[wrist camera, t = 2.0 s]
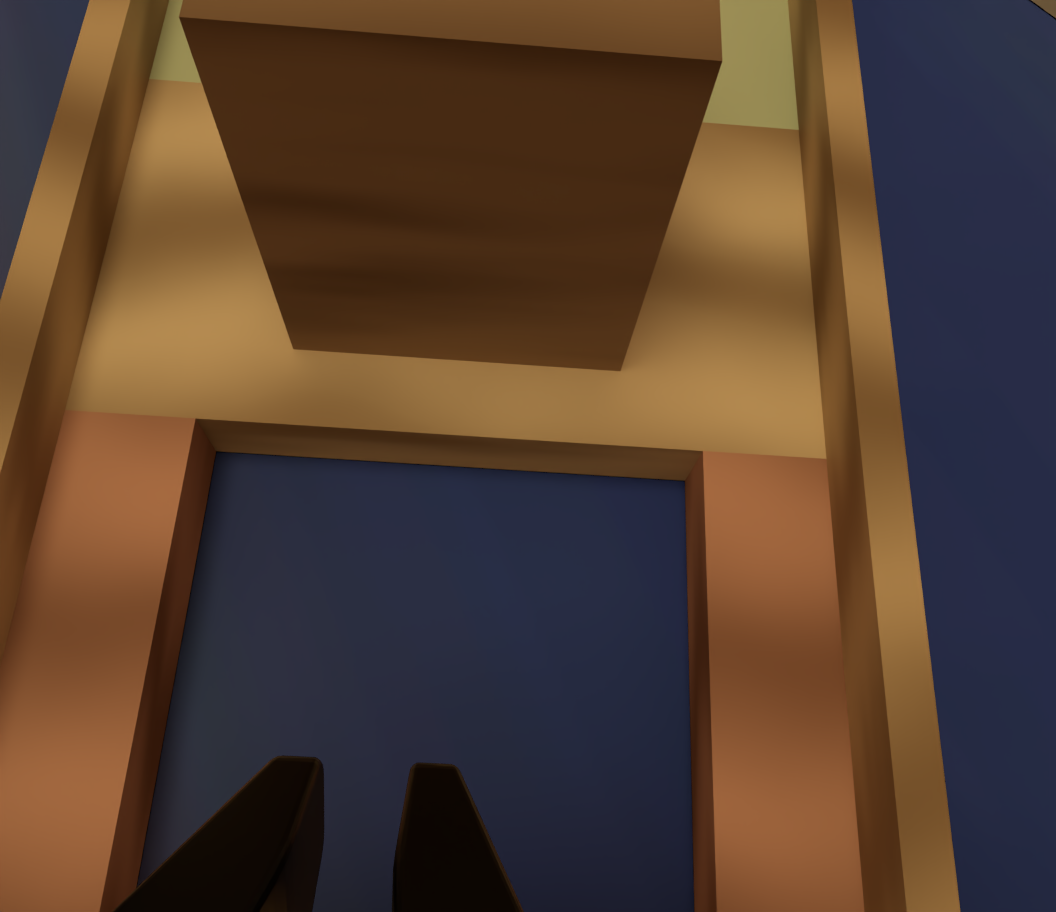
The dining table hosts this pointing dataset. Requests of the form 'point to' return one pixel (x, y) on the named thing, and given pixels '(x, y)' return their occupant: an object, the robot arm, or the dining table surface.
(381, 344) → the walnut block
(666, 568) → the dining table surface
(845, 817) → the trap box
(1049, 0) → the lettuce crate rim
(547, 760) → the dining table surface
